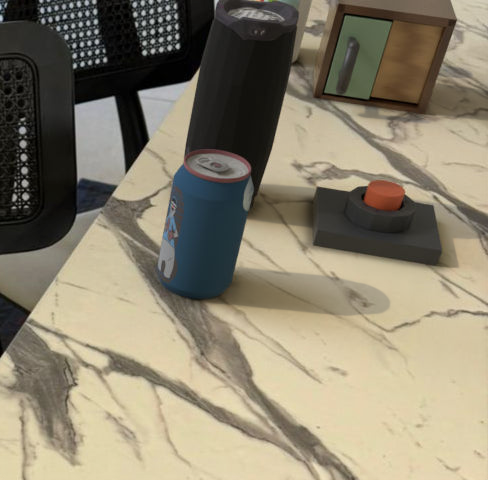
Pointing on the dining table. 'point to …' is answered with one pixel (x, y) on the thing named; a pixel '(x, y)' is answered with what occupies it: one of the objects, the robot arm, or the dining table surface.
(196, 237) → the soda can
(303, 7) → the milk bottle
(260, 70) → the portable speaker
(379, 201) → the button
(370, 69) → the sliding door
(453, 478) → the dining table surface
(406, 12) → the cabinet
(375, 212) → the control block
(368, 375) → the dining table surface
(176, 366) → the dining table surface
